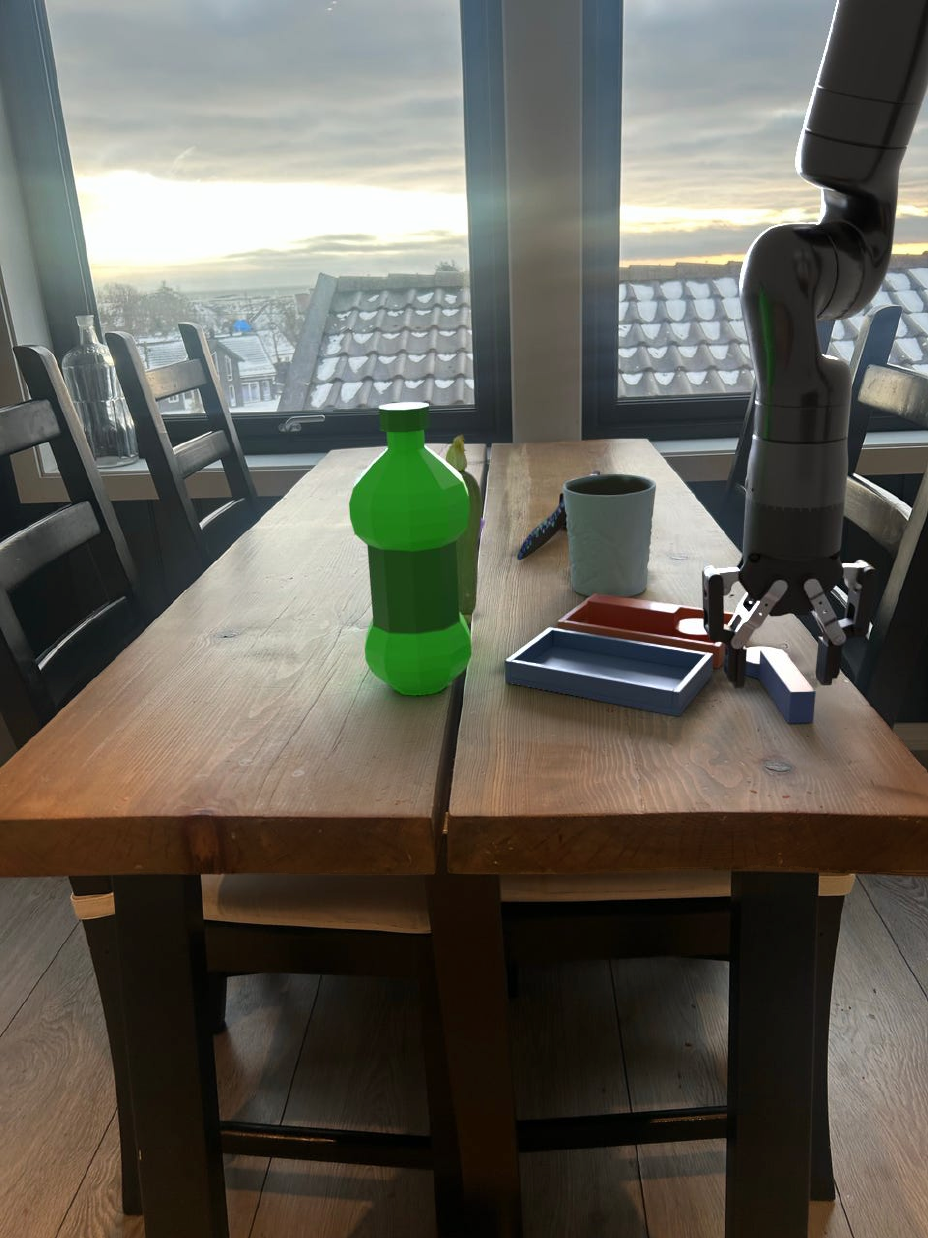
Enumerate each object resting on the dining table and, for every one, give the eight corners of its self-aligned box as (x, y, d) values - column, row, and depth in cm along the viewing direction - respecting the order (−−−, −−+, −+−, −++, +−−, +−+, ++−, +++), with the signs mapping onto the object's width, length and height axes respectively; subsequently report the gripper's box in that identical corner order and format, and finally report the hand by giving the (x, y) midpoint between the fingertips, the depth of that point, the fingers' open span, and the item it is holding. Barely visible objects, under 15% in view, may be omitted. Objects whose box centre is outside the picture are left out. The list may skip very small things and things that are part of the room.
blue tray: (712, 676, 90) (713, 653, 89) (678, 716, 82) (679, 692, 82) (549, 648, 98) (549, 627, 97) (505, 683, 90) (504, 660, 90)
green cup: (658, 575, 117) (661, 474, 113) (646, 604, 108) (649, 495, 104) (573, 571, 120) (573, 472, 116) (555, 598, 111) (553, 492, 107)
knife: (593, 496, 150) (591, 467, 148) (612, 498, 148) (611, 468, 146) (500, 575, 126) (496, 542, 124) (521, 578, 125) (518, 545, 123)
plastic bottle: (461, 712, 85) (447, 415, 76) (346, 702, 88) (320, 415, 79) (490, 666, 94) (481, 396, 85) (385, 658, 97) (365, 397, 88)
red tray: (746, 635, 99) (747, 614, 98) (718, 668, 91) (719, 646, 91) (594, 612, 107) (594, 593, 106) (557, 641, 99) (557, 621, 98)
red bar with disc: (582, 630, 100) (582, 604, 99) (599, 616, 104) (599, 591, 103) (711, 651, 94) (713, 623, 93) (725, 635, 97) (727, 608, 96)
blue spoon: (828, 722, 80) (831, 691, 79) (773, 724, 80) (775, 692, 79) (780, 659, 93) (782, 631, 92) (732, 661, 93) (734, 633, 92)
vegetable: (443, 618, 107) (433, 430, 100) (483, 615, 107) (476, 428, 100) (446, 632, 103) (436, 438, 96) (488, 629, 103) (481, 435, 96)
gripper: (715, 507, 76) (705, 705, 82) (905, 500, 76) (882, 699, 82) (694, 485, 83) (686, 669, 89) (868, 478, 83) (849, 663, 89)
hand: (780, 682), depth 85 cm, fingers open, 6 cm apart
